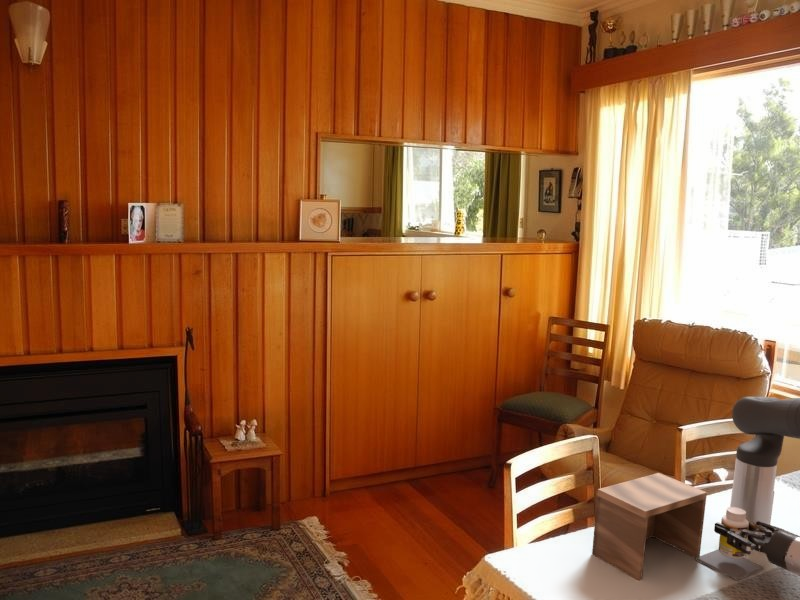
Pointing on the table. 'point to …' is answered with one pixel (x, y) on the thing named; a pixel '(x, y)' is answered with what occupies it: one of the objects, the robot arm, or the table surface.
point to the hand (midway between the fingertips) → (724, 524)
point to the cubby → (646, 520)
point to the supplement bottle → (734, 520)
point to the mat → (729, 565)
